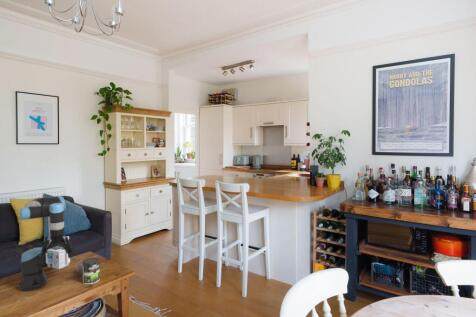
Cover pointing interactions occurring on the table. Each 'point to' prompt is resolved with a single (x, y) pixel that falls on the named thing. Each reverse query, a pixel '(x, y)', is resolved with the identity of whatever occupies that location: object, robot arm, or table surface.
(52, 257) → the light bulb box
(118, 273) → the table surface
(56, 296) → the table surface
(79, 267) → the grey domed cylinder
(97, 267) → the coffee can
